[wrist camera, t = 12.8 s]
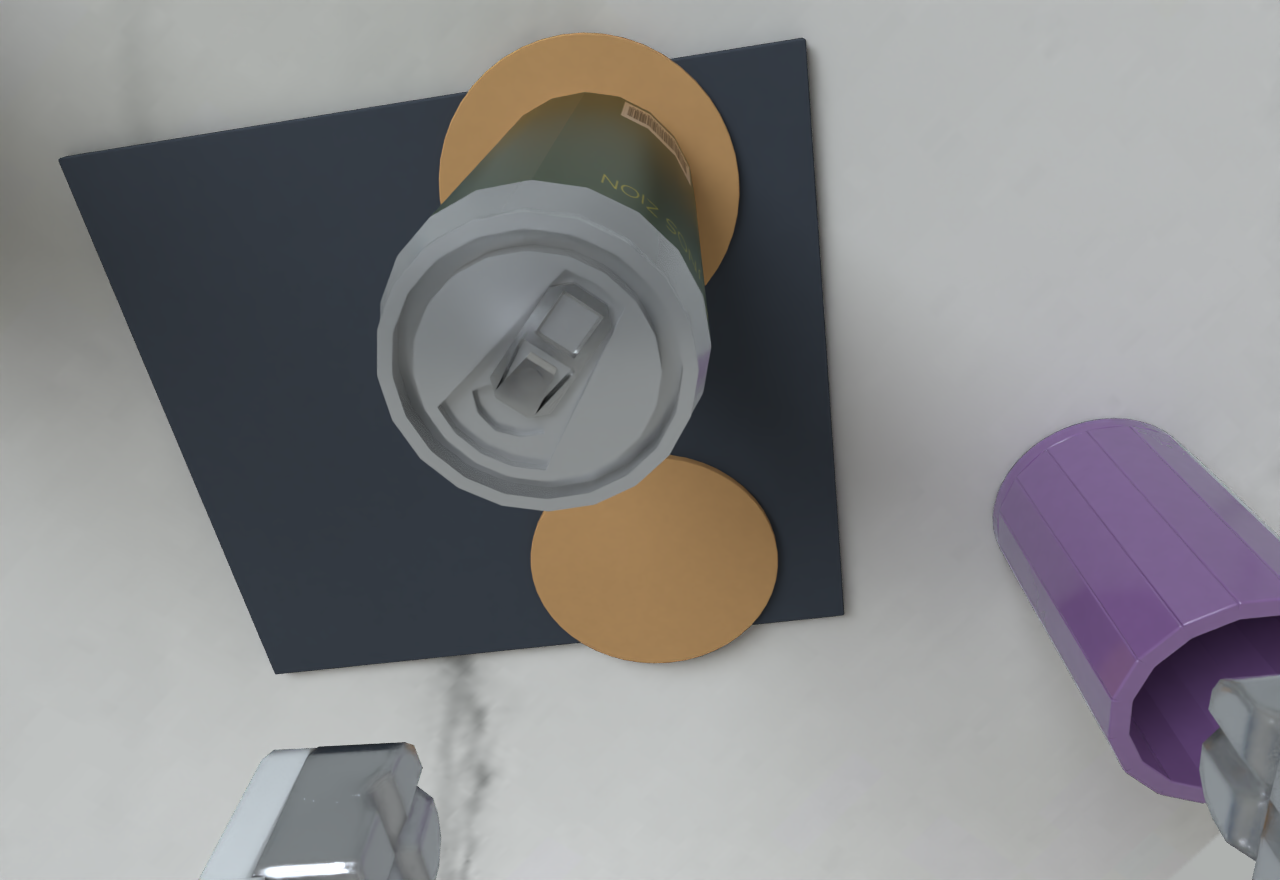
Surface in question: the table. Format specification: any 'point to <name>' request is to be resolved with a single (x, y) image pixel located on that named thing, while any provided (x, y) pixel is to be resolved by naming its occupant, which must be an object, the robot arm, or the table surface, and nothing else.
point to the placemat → (358, 413)
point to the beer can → (552, 311)
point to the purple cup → (1142, 586)
